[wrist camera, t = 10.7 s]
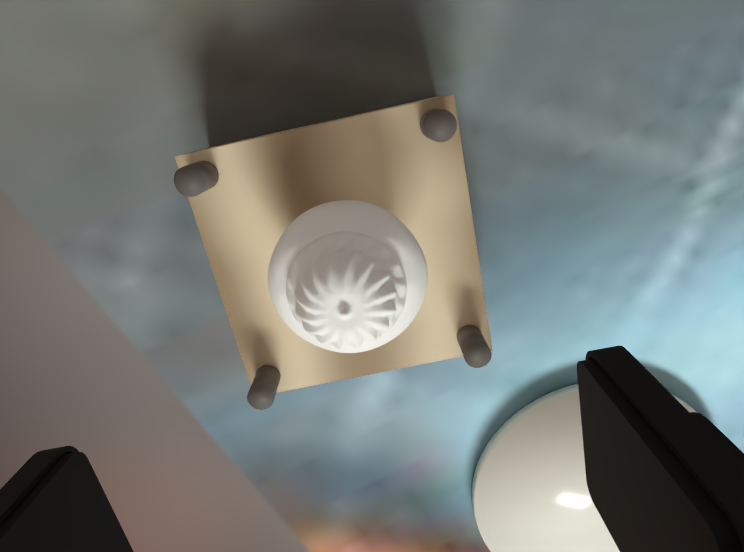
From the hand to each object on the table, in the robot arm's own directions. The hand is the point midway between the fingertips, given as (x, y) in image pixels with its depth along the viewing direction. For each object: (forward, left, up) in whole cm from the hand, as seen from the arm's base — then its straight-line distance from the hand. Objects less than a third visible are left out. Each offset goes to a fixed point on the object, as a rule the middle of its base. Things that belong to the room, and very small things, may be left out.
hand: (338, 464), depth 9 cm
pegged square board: (0, 0, -19) cm, 19 cm away
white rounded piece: (0, 0, -14) cm, 14 cm away
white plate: (-12, +20, -19) cm, 30 cm away
